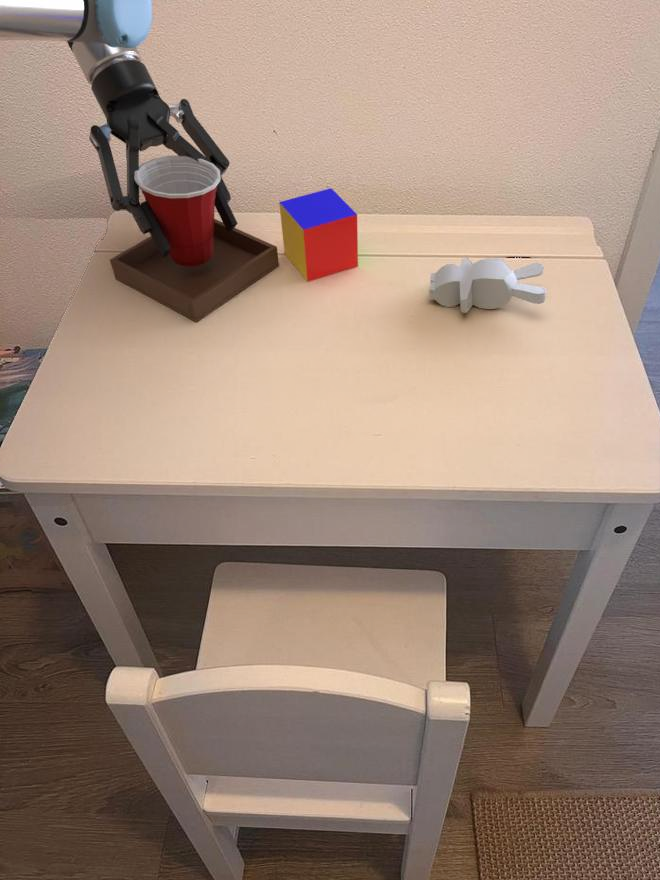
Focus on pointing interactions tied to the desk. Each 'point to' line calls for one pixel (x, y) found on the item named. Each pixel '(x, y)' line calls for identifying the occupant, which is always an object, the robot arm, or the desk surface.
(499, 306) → the bunny figurine
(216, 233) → the tray
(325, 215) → the cube
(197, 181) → the plastic cup
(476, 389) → the desk surface
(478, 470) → the desk surface
